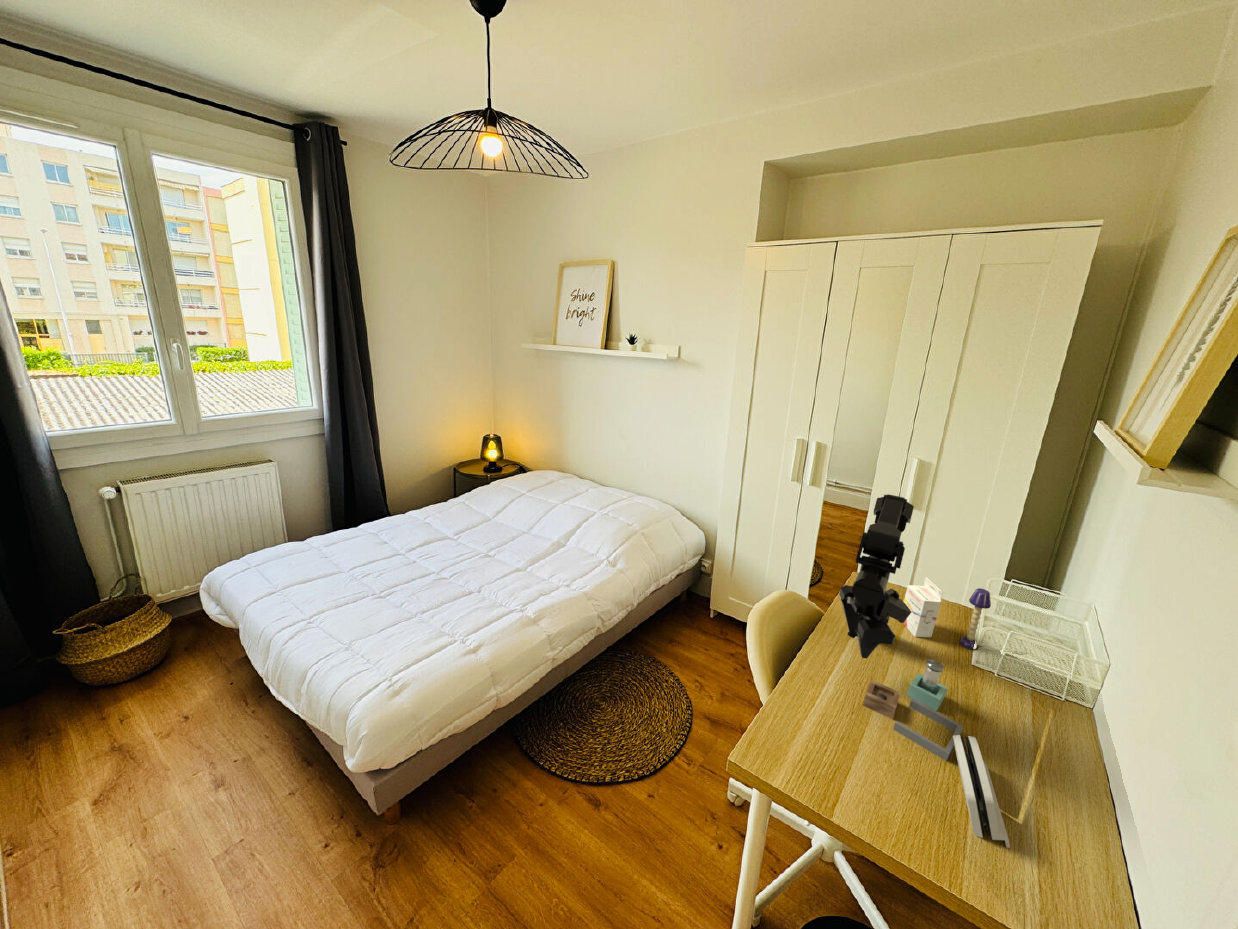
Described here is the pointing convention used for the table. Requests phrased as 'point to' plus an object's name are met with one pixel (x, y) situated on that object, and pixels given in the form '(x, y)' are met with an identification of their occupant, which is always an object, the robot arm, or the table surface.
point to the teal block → (926, 693)
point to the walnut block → (881, 699)
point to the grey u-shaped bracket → (924, 741)
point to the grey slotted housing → (988, 806)
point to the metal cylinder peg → (932, 675)
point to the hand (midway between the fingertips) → (857, 644)
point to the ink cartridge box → (922, 608)
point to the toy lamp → (976, 615)
